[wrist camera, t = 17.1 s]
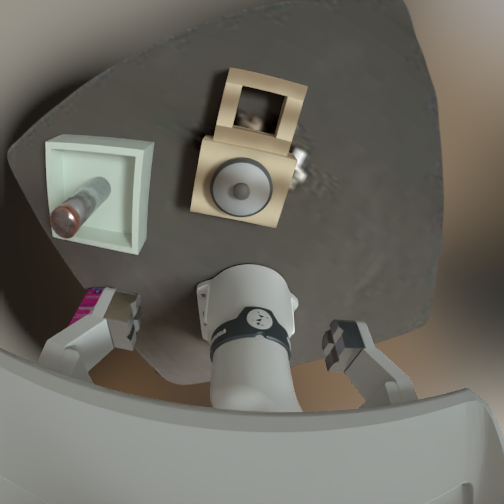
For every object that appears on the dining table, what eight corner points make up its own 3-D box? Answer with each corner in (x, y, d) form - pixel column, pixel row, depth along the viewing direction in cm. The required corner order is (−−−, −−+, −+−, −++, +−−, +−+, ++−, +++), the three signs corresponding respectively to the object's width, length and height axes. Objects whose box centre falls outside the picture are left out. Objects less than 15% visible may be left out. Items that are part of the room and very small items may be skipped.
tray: (146, 238, 43) (137, 254, 40) (65, 223, 41) (53, 236, 37) (154, 142, 35) (143, 150, 31) (61, 134, 32) (45, 141, 29)
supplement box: (111, 285, 49) (90, 330, 40) (122, 307, 52) (105, 351, 43) (88, 286, 49) (66, 328, 40) (99, 307, 52) (81, 349, 43)
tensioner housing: (273, 216, 42) (277, 236, 37) (194, 200, 40) (187, 219, 35) (312, 89, 31) (324, 90, 26) (221, 66, 29) (217, 63, 25)
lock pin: (111, 202, 38) (77, 241, 29) (88, 199, 38) (52, 235, 29) (111, 177, 36) (74, 210, 27) (88, 174, 36) (48, 206, 26)
